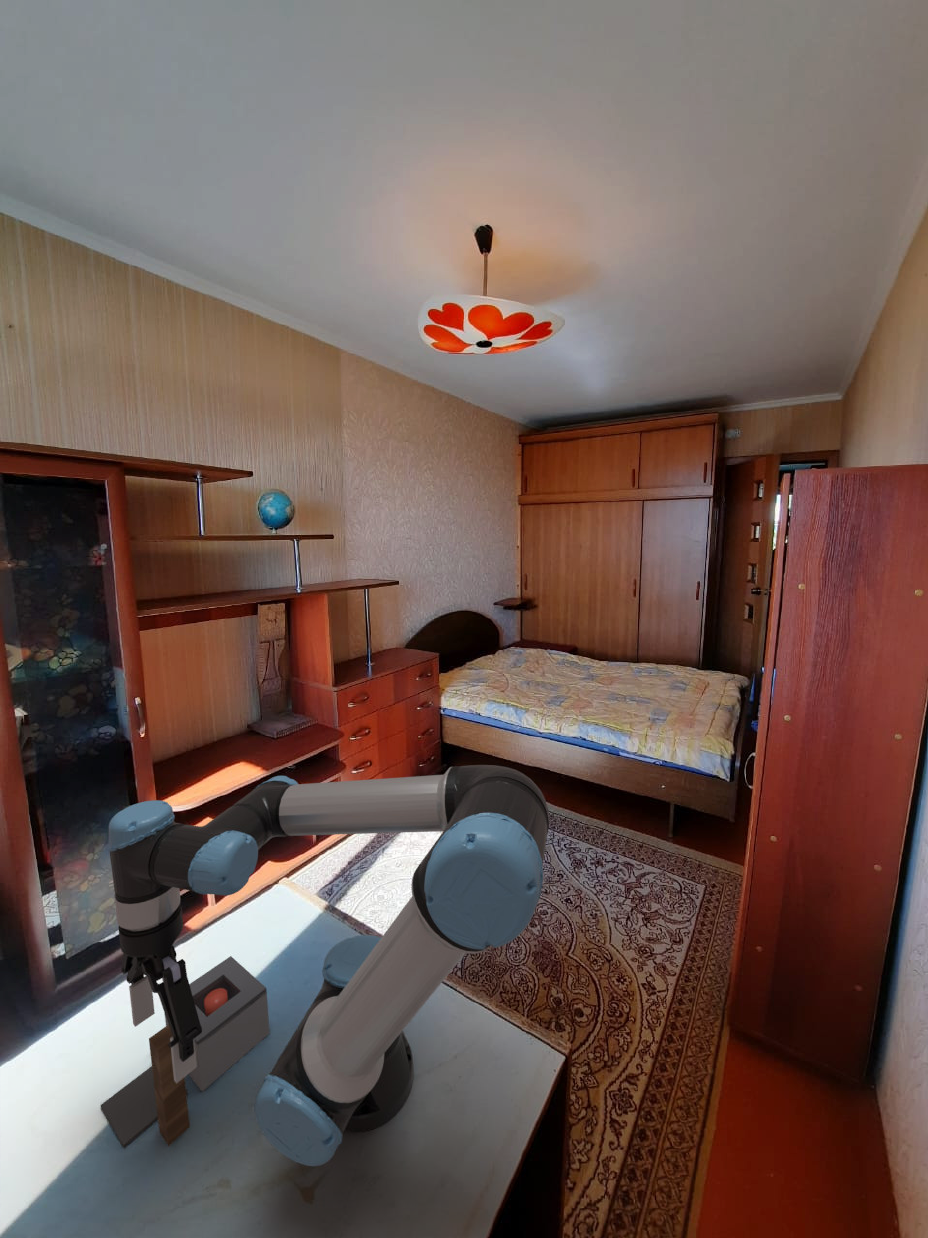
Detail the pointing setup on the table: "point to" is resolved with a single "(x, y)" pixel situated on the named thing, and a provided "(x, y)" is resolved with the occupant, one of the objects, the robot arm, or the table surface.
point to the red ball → (215, 1000)
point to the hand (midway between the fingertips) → (163, 1045)
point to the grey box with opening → (227, 1020)
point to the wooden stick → (168, 1089)
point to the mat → (132, 1108)
